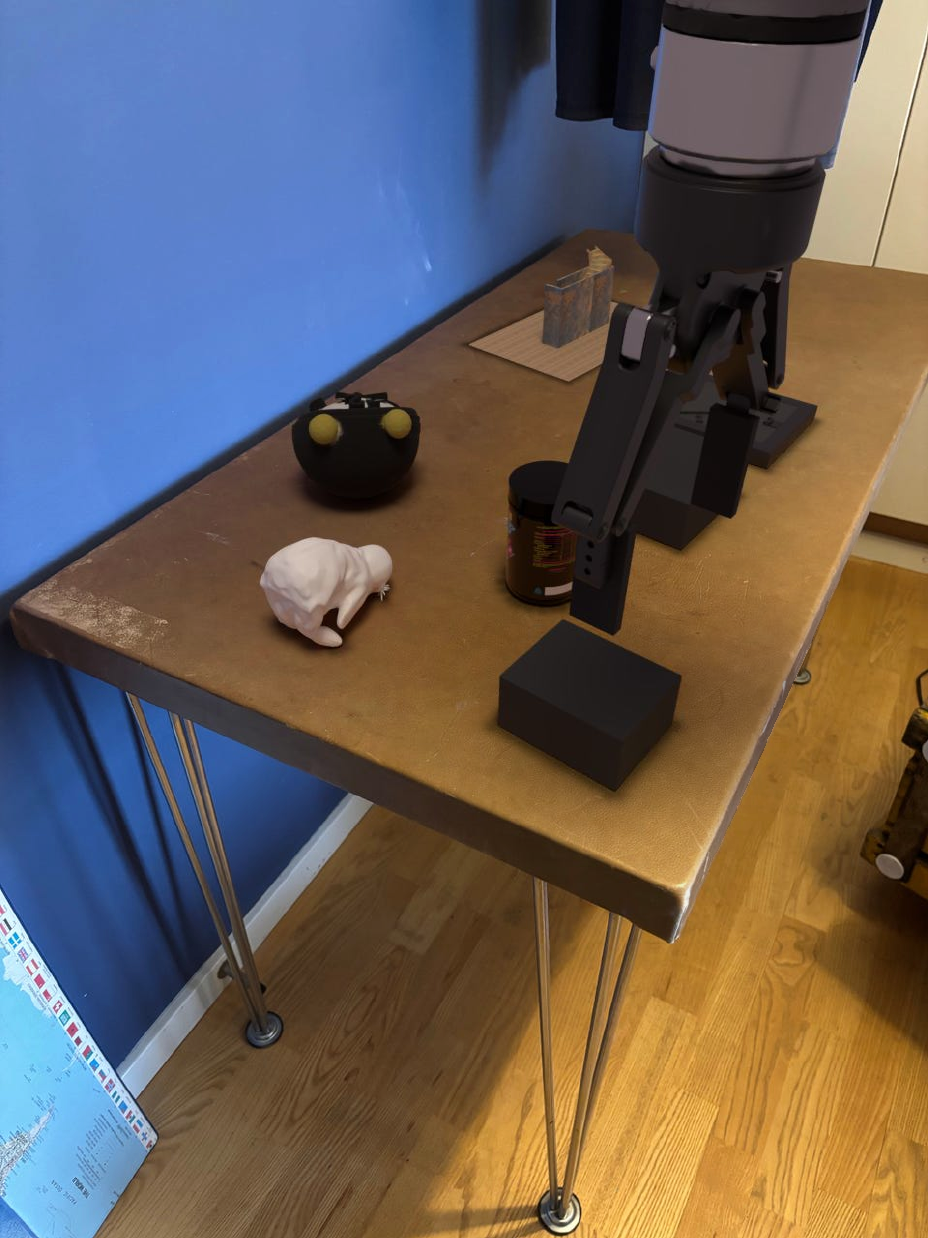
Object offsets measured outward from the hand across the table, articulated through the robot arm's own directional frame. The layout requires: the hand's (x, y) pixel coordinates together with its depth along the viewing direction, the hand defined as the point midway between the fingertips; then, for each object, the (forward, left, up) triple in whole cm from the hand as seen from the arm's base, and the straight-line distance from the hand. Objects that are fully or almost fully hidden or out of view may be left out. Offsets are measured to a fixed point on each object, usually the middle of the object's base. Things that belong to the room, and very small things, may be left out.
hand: (658, 561), depth 52 cm
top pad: (+5, -2, -18) cm, 19 cm away
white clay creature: (+28, 0, -18) cm, 33 cm away
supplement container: (+17, -14, -18) cm, 28 cm away
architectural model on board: (+45, -62, -18) cm, 79 cm away
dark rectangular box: (+16, -32, -18) cm, 40 cm away
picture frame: (+19, -51, -18) cm, 57 cm away
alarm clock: (+41, -16, -18) cm, 47 cm away
